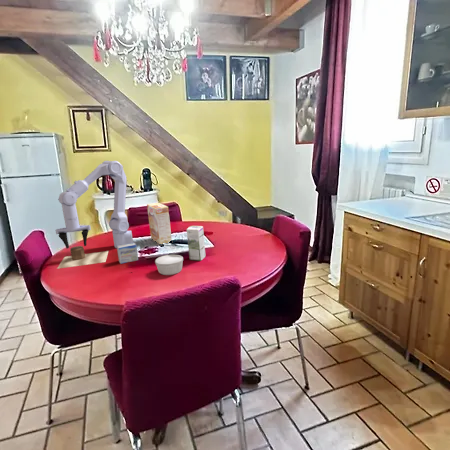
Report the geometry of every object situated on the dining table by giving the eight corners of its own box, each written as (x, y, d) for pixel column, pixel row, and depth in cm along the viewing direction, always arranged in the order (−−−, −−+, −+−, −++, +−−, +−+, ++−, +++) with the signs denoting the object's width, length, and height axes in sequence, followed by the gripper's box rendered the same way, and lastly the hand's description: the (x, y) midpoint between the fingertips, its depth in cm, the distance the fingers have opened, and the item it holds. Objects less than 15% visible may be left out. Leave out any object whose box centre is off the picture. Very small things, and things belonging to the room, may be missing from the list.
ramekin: (187, 266, 142) (186, 254, 141) (178, 277, 131) (177, 264, 130) (163, 265, 145) (161, 254, 143) (152, 276, 134) (150, 263, 133)
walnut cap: (87, 256, 158) (85, 246, 157) (79, 260, 153) (77, 250, 152) (77, 255, 159) (75, 245, 158) (69, 260, 154) (67, 249, 153)
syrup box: (206, 256, 152) (203, 225, 148) (200, 261, 147) (198, 229, 143) (194, 255, 154) (191, 225, 150) (189, 260, 148) (186, 228, 145)
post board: (109, 253, 164) (107, 244, 163) (106, 265, 149) (104, 254, 148) (65, 259, 160) (63, 249, 158) (57, 271, 145) (55, 261, 143)
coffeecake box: (150, 238, 185) (146, 204, 180) (163, 236, 188) (159, 202, 183) (159, 245, 172) (155, 208, 167) (172, 242, 175) (168, 206, 170)
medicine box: (121, 267, 146) (118, 248, 144) (119, 264, 150) (116, 245, 147) (139, 263, 149) (136, 244, 147) (136, 260, 153) (134, 242, 151)
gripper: (89, 214, 157) (94, 242, 160) (56, 218, 153) (61, 246, 157) (87, 217, 150) (92, 246, 154) (52, 221, 147) (58, 250, 150)
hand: (76, 246), depth 155 cm, fingers open, 7 cm apart
